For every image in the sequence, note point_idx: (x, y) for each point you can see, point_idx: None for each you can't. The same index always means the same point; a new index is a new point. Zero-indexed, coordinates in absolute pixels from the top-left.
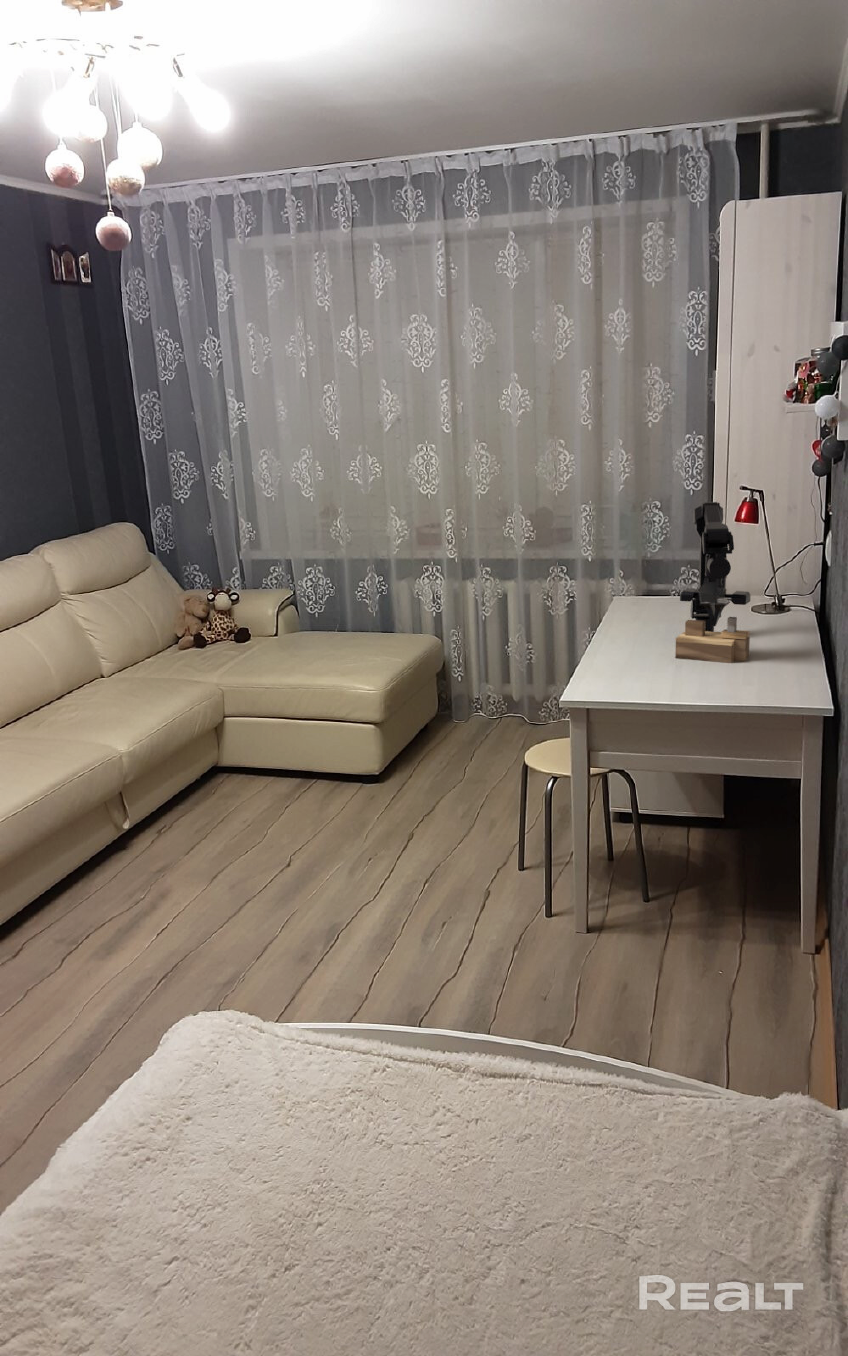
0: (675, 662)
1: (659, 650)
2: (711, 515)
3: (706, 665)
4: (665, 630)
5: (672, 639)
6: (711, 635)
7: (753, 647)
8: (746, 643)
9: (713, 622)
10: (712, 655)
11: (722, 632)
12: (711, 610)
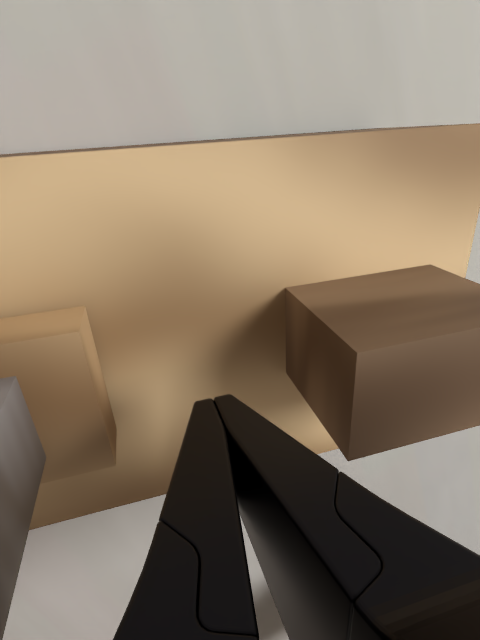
0: (353, 17)
1: (476, 280)
2: None
3: (106, 9)
4: (476, 543)
5: (442, 468)
6: (223, 365)
7: (71, 555)
8: None
9: (223, 420)
10: (114, 147)
11: (58, 333)
12: (341, 579)
